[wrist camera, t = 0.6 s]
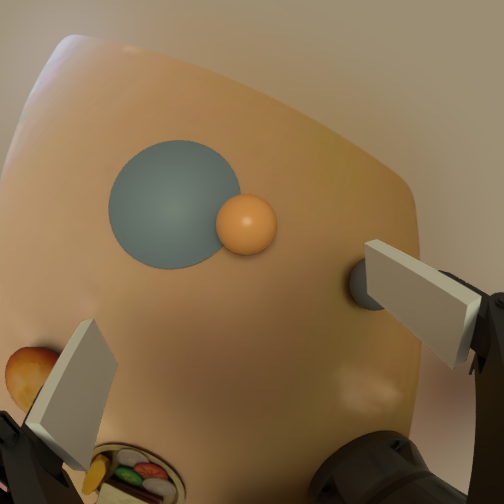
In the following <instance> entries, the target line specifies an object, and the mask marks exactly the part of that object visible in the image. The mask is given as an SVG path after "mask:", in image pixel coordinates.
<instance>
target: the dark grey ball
mask: <svg viewBox="0 0 504 504" xmlns="http://www.w3.org/2000/svg"><path fill="white" fill-rule="evenodd" d="M349 284H350V291H351V294H352V296H353V298H354V300H355V301H356V302H357V303H358V304H359V305H360V306H362V307H363V308H365V309H368V310H382V309H385V308H383V307H382V306H381V305H380V304H379V303H378V302H376V301H375V300H374V299H373V298H372V297H371V296H369V295H368V294H367V278H366V263H365V258H364V259H362V260H361V261H360V262H358V263H357V265H356V266H355V267H354V269H353V270H352V273H351V276H350V282H349Z"/></svg>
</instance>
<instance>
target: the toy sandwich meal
mask: <svg viewBox="0 0 504 504" xmlns="http://www.w3.org/2000/svg"><path fill="white" fill-rule="evenodd" d="M85 474H86V477H85V479H84V483H83V488H82V493H84V494H85V495H89V494H90V493H91V492H93V491H95V492H96V493H97V494H98V495H99V496H98V499H97V501H96V503H95V504H183V503H184V499H185V491H184V487H183V485H182V483H181V481H180V479H179V478H178V476H177V475H176V474H175V473H174V472H173V470H172V469H171V468H169V467H168V466H167V465H166V464H165V463H163V462H162V461H160V460H159V459H157V458H156V457H154V456H152V455H150V454H148V453H146V452H144V451H142V450H139V449H136V448H133V447H129V446H124V445H116V444H113V445H103V446H99V447H97V448H95V449H94V450H93V454H92V459H91V463H90V468H89V471H85Z"/></svg>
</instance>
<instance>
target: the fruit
mask: <svg viewBox="0 0 504 504" xmlns="http://www.w3.org/2000/svg"><path fill="white" fill-rule="evenodd" d="M59 357H60V356H59V355H58V354H57V353H55V352H54V351H52V350H49V349H46V348H45V347H24V348H21V349H19V350H17V351H16V352H15V353H14V354H13V355H11V357H10V358H9V360H8V363H7V365H6V371H5V379H6V385H7V390H8V392H9V394H10V396H11V398H12V399H13V400H14V402H15V403H16V404H17V406H18V407H20V408H21V409H22V410H23V411H24V412H25V413H26V414H27V413H28V411H29V409H30V407H31V405H33V404H32V403H33V401H34V399H35V398H36V395H37V393H38V391H39V390H40V388H41V387H42V386H43V384H44V383H45V382H46V380H47V378H48V376H49V374H50V373H51V371H52V369H53V367H54V366H55V364H56V362H57V360H58V359H59Z"/></svg>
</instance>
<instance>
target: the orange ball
mask: <svg viewBox="0 0 504 504" xmlns="http://www.w3.org/2000/svg"><path fill="white" fill-rule="evenodd" d="M276 230H277V219H276V215H275V212H274V210H273V209H272V207H271V206H270V204H269V203H268V202H267V201H265V200H264V199H263V198H261V197H259V196H256V195H253V194H240V195H236V196H234V197H232V198H230V199H229V200H227V201H226V202H225V203H224V204H223V205H222V207H221V208H220V210H219V212H218V214H217V218H216V231H217V235H218V237H219V239H220V241H221V242H222V244H223V245H224V246H225V247H226V248H227V249H229V250H230V251H232V252H234V253H237V254H241V255H252V254H256V253H258V252H260V251H262V250H264V249H265V248H266V247H267V246H268V245H269V244H270V243H271V242H272V240H273V238H274V236H275V234H276Z"/></svg>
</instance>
